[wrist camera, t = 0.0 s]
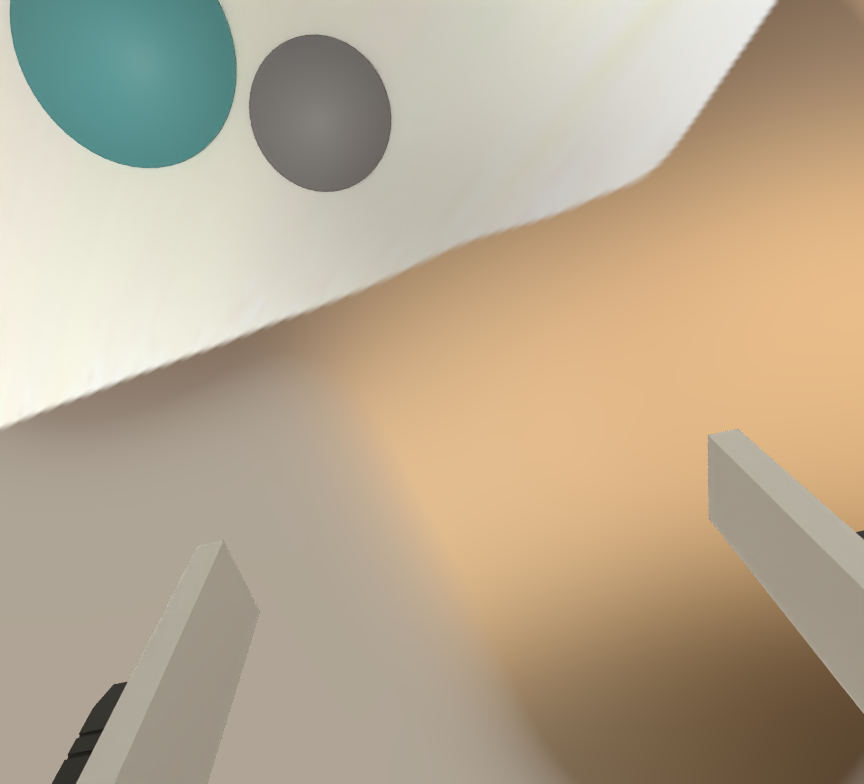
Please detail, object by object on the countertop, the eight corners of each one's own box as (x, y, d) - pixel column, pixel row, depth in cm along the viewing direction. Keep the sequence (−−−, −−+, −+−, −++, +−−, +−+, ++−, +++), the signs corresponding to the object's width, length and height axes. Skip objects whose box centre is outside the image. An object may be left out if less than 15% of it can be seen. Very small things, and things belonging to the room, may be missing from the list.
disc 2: (228, 56, 34) (227, 55, 33) (369, 18, 33) (369, 17, 33) (278, 205, 37) (277, 205, 37) (405, 173, 37) (405, 173, 37)
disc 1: (-35, -49, 31) (-37, -50, 31) (183, -112, 30) (182, -113, 30) (80, 188, 36) (78, 189, 36) (266, 140, 36) (265, 140, 35)
